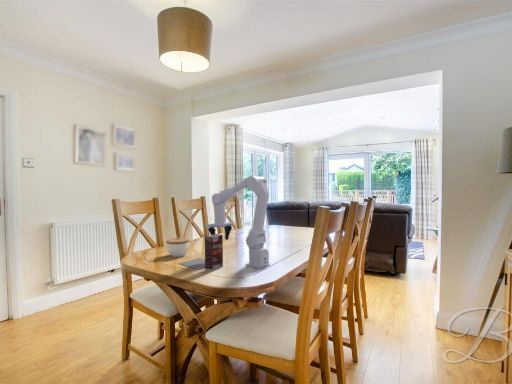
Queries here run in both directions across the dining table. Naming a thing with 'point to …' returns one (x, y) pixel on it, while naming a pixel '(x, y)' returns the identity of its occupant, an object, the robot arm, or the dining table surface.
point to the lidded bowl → (177, 246)
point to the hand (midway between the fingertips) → (220, 240)
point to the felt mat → (195, 264)
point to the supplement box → (213, 252)
